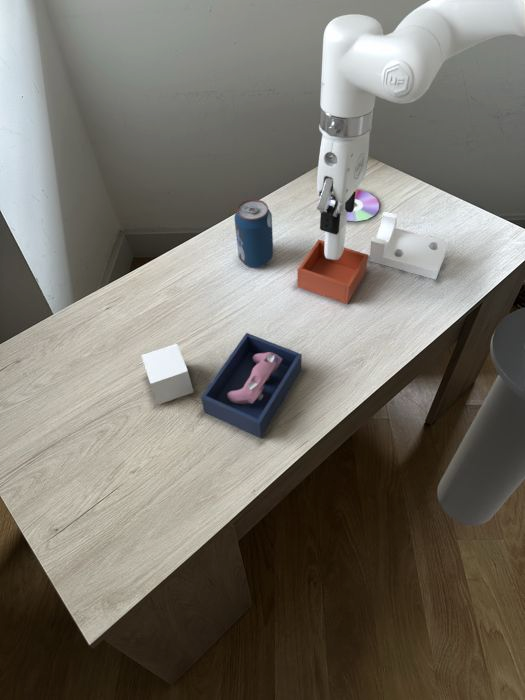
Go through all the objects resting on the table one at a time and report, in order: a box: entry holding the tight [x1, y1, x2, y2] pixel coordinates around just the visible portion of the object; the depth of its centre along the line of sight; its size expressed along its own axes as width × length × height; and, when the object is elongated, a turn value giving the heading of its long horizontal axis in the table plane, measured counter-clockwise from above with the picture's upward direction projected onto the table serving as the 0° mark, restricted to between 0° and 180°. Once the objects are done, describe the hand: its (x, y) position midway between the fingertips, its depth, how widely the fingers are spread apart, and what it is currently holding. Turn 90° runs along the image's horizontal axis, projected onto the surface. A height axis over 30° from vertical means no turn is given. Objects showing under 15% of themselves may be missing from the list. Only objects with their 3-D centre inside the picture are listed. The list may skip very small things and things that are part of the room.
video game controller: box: [227, 352, 282, 404], centre depth 82 cm, size 10×5×7 cm, turn 151°
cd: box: [329, 189, 380, 222], centre depth 113 cm, size 11×11×1 cm
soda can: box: [234, 199, 274, 269], centre depth 99 cm, size 7×7×12 cm
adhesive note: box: [140, 343, 194, 406], centre depth 84 cm, size 6×6×6 cm
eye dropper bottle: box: [324, 200, 348, 260], centre depth 89 cm, size 4×6×12 cm
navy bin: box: [200, 332, 303, 439], centre depth 83 cm, size 10×14×5 cm
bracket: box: [369, 211, 450, 281], centre depth 99 cm, size 13×7×8 cm, turn 64°
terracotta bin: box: [296, 239, 369, 305], centre depth 97 cm, size 10×9×5 cm
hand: (337, 219), depth 88 cm, fingers closed on eye dropper bottle, 5 cm apart
